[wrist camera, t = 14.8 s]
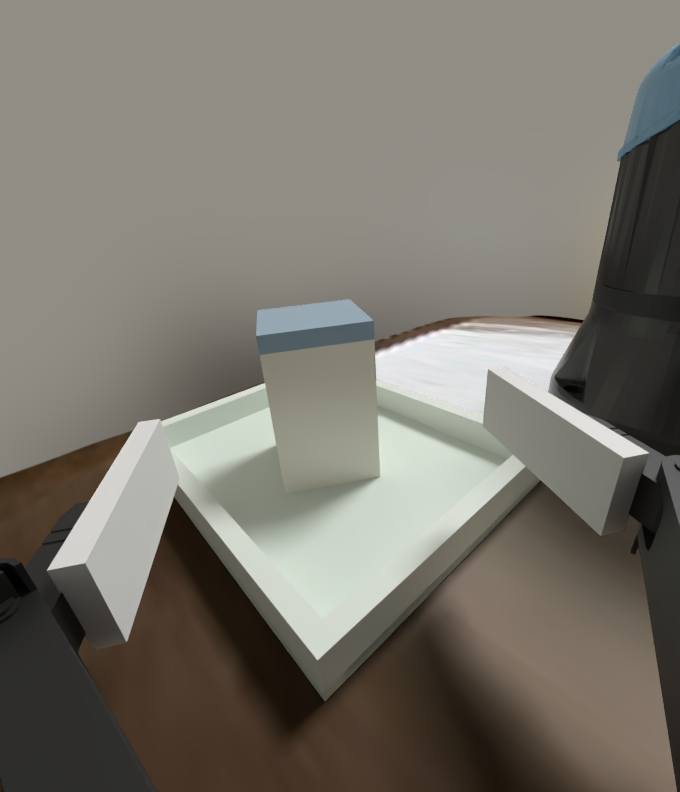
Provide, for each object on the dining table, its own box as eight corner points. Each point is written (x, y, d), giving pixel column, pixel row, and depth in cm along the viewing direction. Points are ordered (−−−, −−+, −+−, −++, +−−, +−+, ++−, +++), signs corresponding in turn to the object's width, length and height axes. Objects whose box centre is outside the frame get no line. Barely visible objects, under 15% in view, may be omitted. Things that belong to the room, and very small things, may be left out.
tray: (326, 383, 39) (324, 361, 38) (547, 473, 24) (553, 439, 23) (145, 458, 29) (135, 430, 28) (324, 701, 14) (317, 660, 12)
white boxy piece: (358, 429, 29) (349, 299, 25) (380, 476, 24) (373, 320, 20) (280, 442, 28) (257, 310, 24) (285, 494, 23) (256, 336, 19)
